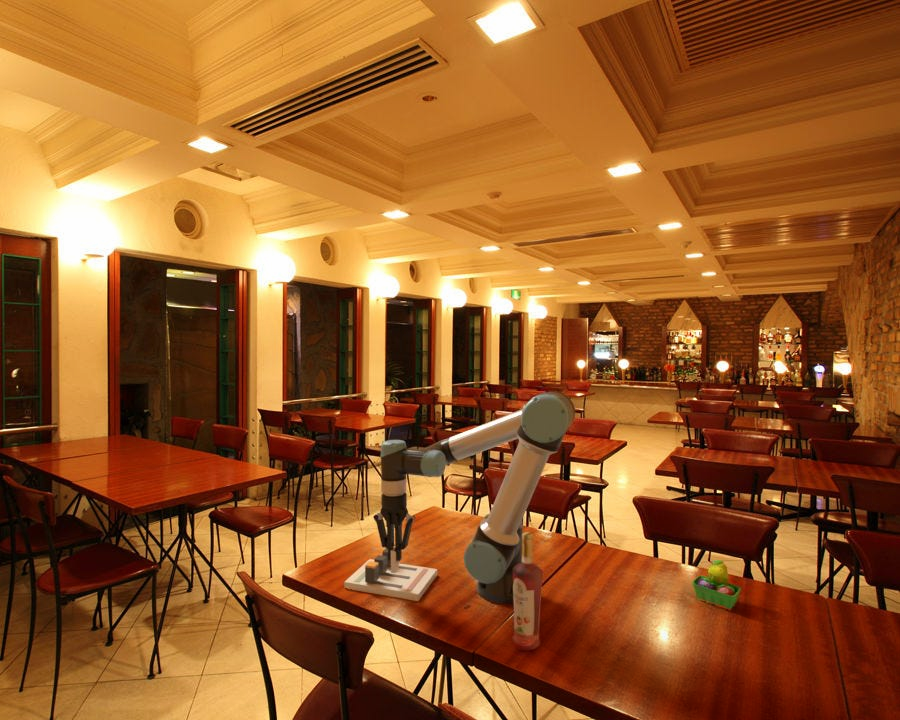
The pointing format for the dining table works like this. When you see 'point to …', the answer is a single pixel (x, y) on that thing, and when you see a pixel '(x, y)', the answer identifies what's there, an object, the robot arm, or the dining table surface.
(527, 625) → the liquor
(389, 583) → the panel
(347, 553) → the dining table surface
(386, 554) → the handle far
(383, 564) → the handle middle
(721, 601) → the fruit basket
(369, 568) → the handle
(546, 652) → the dining table surface
